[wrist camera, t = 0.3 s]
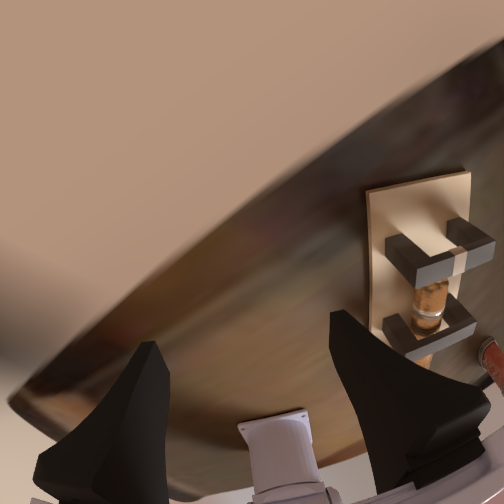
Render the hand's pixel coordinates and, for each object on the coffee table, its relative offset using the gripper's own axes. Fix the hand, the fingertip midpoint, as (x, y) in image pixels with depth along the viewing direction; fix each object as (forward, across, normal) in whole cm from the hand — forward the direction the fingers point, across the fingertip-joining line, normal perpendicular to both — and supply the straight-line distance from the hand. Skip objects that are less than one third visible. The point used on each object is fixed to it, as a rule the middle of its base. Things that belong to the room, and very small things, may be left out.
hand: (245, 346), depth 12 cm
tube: (+9, -16, +12) cm, 22 cm away
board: (+10, -15, +6) cm, 19 cm away
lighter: (+10, -33, +24) cm, 42 cm away
